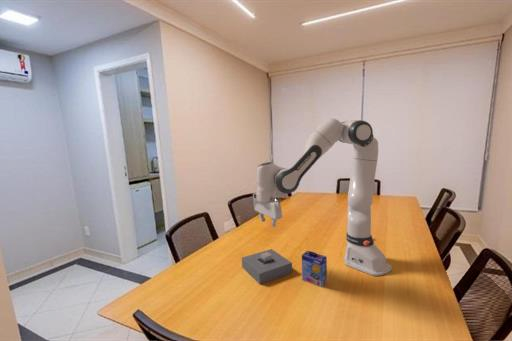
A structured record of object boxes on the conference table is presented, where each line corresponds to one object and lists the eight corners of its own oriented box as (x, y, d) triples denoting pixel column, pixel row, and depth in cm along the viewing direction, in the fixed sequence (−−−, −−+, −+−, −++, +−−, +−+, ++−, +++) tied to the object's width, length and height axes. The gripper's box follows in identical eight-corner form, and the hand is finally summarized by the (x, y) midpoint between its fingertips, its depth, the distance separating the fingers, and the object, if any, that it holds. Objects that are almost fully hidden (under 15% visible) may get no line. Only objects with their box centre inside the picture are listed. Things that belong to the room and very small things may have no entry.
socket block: (292, 272, 118) (291, 262, 118) (259, 284, 110) (259, 273, 109) (271, 257, 134) (271, 248, 133) (242, 266, 125) (241, 257, 125)
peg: (272, 270, 121) (271, 255, 120) (265, 272, 119) (264, 257, 118) (267, 266, 124) (267, 251, 123) (260, 269, 122) (260, 253, 122)
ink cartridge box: (301, 280, 112) (300, 249, 110) (307, 274, 116) (306, 245, 114) (321, 287, 105) (321, 255, 104) (327, 282, 110) (327, 251, 108)
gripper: (284, 198, 111) (285, 228, 113) (261, 191, 129) (262, 217, 131) (273, 201, 108) (274, 231, 110) (251, 193, 126) (252, 219, 127)
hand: (268, 223), depth 120 cm, fingers open, 8 cm apart
